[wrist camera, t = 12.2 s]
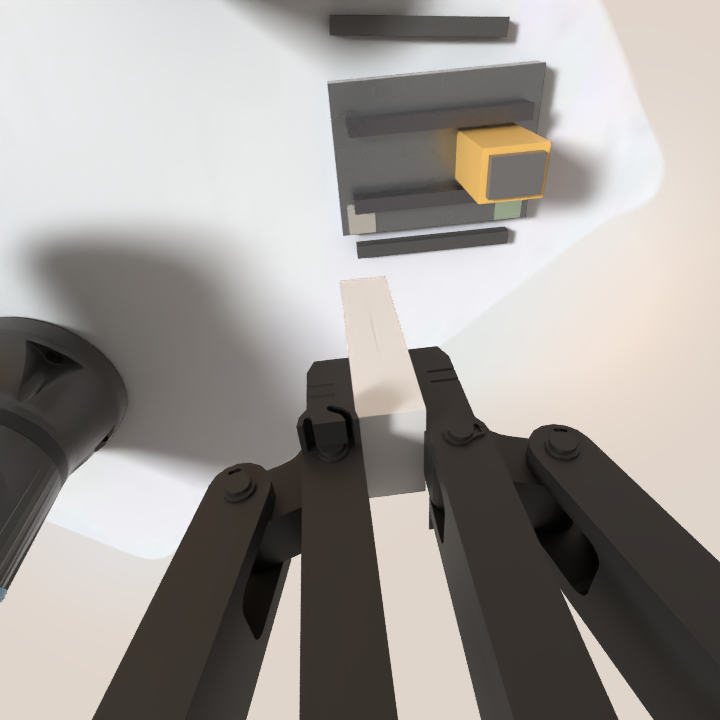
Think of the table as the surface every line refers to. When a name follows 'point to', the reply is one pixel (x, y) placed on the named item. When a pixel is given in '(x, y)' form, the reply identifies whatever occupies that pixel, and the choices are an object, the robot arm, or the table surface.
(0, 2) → the table surface
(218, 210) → the table surface
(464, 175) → the toggle
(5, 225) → the table surface
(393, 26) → the bar
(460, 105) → the panel
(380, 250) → the dark grey long bar
